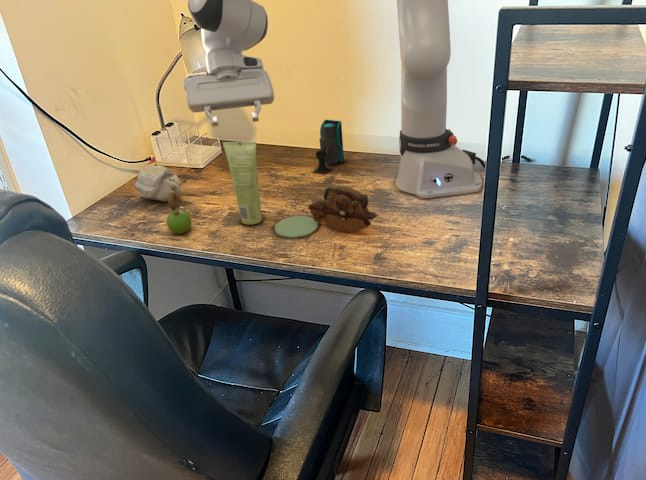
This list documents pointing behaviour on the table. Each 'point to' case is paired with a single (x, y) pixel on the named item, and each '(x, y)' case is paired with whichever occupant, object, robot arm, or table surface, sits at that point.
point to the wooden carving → (343, 209)
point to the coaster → (296, 226)
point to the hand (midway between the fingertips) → (235, 122)
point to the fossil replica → (156, 182)
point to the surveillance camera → (330, 145)
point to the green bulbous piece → (177, 213)
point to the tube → (245, 179)
